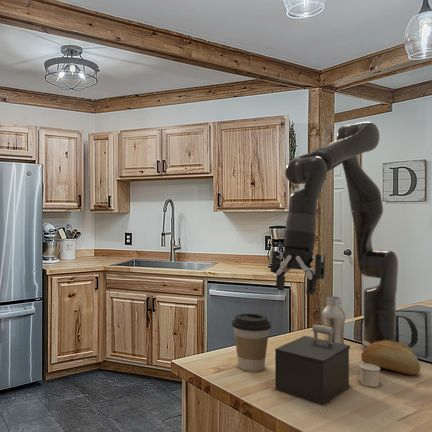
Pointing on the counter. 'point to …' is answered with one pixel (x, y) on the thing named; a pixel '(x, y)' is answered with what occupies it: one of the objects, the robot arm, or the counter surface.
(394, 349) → the bread roll
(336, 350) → the charcoal box lid
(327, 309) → the plastic bottle
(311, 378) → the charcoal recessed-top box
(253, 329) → the coffee cup
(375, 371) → the coffee pod
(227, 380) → the counter surface
